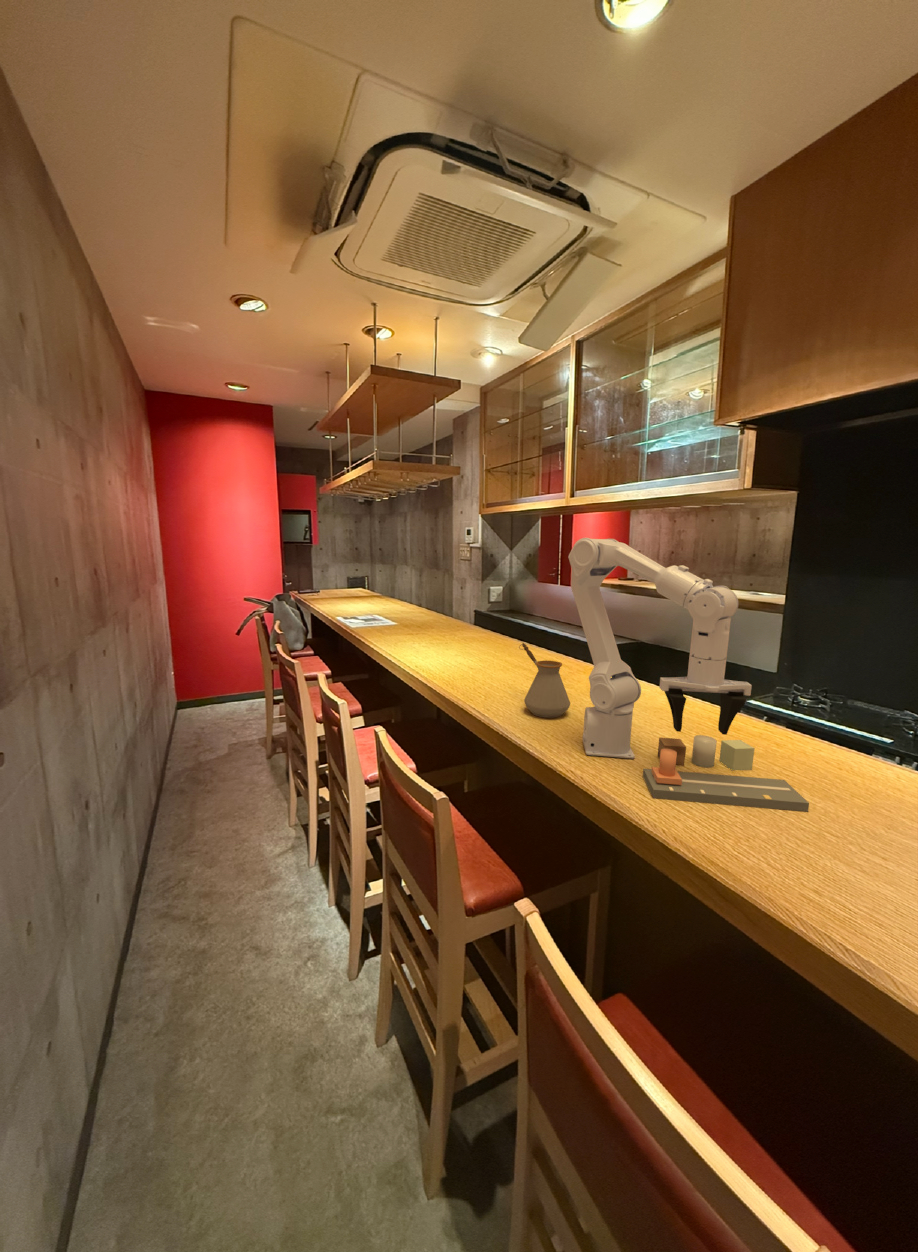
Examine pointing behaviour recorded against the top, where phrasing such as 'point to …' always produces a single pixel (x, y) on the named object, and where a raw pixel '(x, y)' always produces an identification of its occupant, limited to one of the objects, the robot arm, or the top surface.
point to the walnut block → (673, 748)
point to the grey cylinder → (704, 751)
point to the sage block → (736, 754)
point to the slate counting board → (729, 791)
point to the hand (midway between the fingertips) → (699, 731)
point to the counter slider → (667, 768)
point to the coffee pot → (546, 689)
